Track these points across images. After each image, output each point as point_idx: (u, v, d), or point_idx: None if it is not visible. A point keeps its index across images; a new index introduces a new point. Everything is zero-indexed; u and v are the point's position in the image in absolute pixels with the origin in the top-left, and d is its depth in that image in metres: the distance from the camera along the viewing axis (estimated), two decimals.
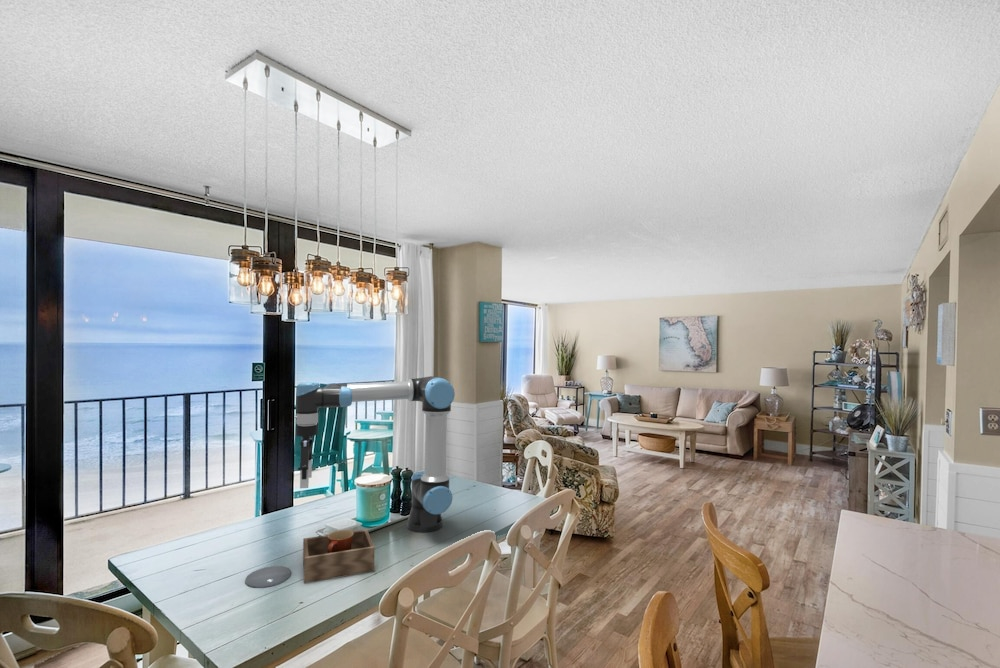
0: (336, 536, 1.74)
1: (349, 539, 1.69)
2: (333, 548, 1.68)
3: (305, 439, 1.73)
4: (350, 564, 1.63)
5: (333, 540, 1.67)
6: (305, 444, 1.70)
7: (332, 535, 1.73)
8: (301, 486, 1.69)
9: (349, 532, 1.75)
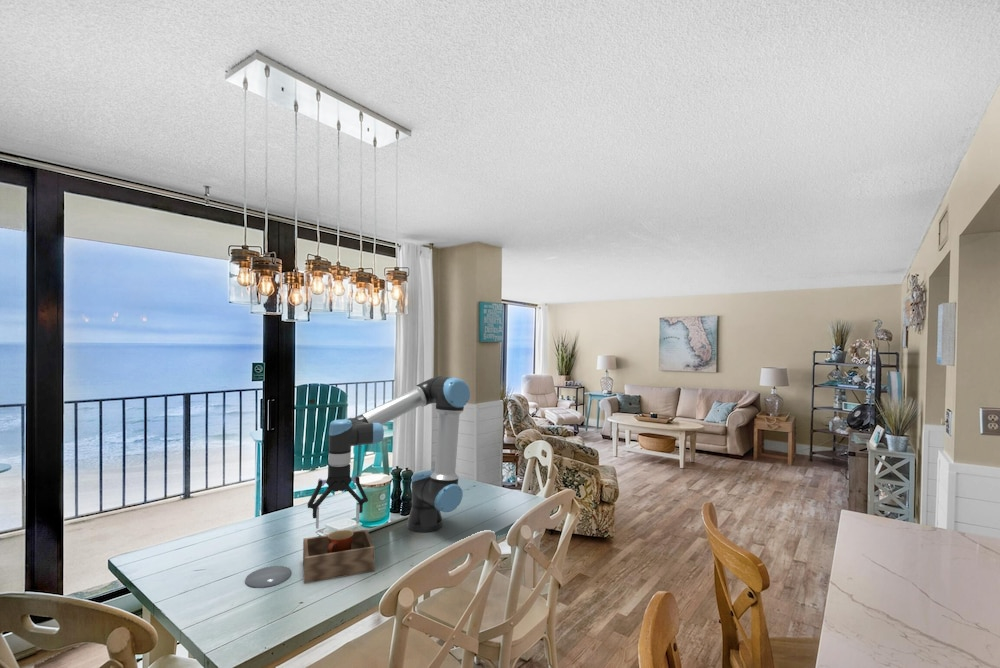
0: (336, 536, 1.74)
1: (349, 539, 1.69)
2: (333, 548, 1.68)
3: (327, 478, 1.69)
4: (350, 564, 1.63)
5: (333, 540, 1.67)
6: (318, 483, 1.67)
7: (332, 535, 1.73)
8: None
9: (349, 532, 1.75)
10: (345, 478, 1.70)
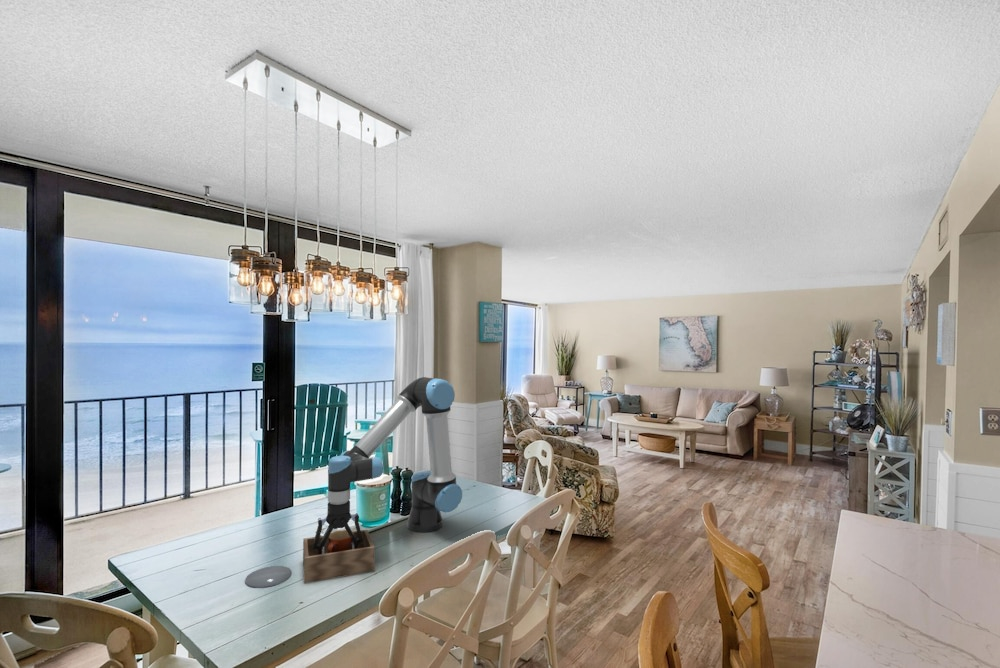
0: (336, 536, 1.74)
1: (349, 539, 1.69)
2: (333, 548, 1.68)
3: (327, 516, 1.68)
4: (350, 564, 1.63)
5: (333, 540, 1.67)
6: (318, 523, 1.67)
7: (332, 535, 1.73)
8: None
9: None
10: (345, 514, 1.70)
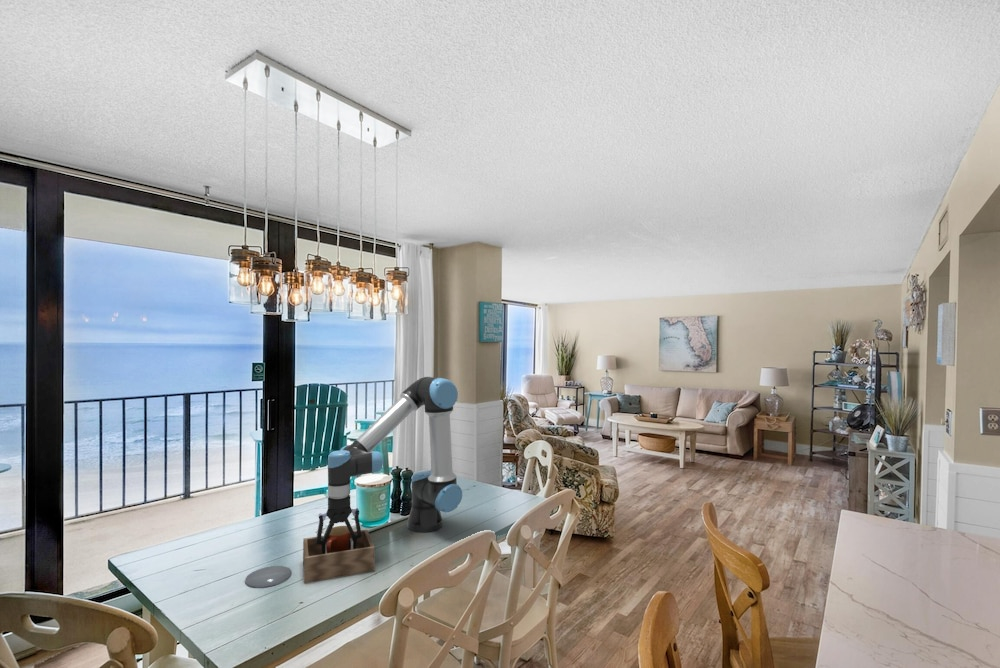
0: (334, 532, 1.74)
1: (348, 534, 1.69)
2: (332, 544, 1.68)
3: (327, 511, 1.69)
4: (350, 564, 1.63)
5: (332, 536, 1.67)
6: (319, 518, 1.67)
7: None
8: None
9: (347, 528, 1.75)
10: (346, 508, 1.70)
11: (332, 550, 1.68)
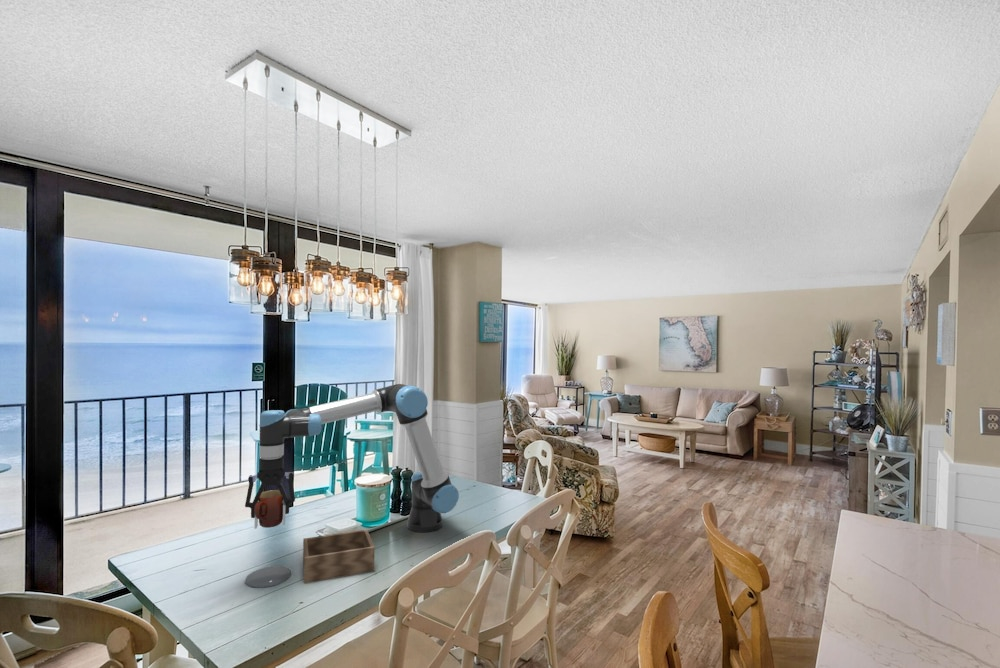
0: (267, 496, 1.65)
1: (279, 498, 1.61)
2: (262, 507, 1.59)
3: (258, 473, 1.60)
4: (350, 564, 1.63)
5: (262, 498, 1.58)
6: None
7: (262, 495, 1.64)
8: None
9: None
10: (278, 471, 1.61)
11: (262, 514, 1.59)
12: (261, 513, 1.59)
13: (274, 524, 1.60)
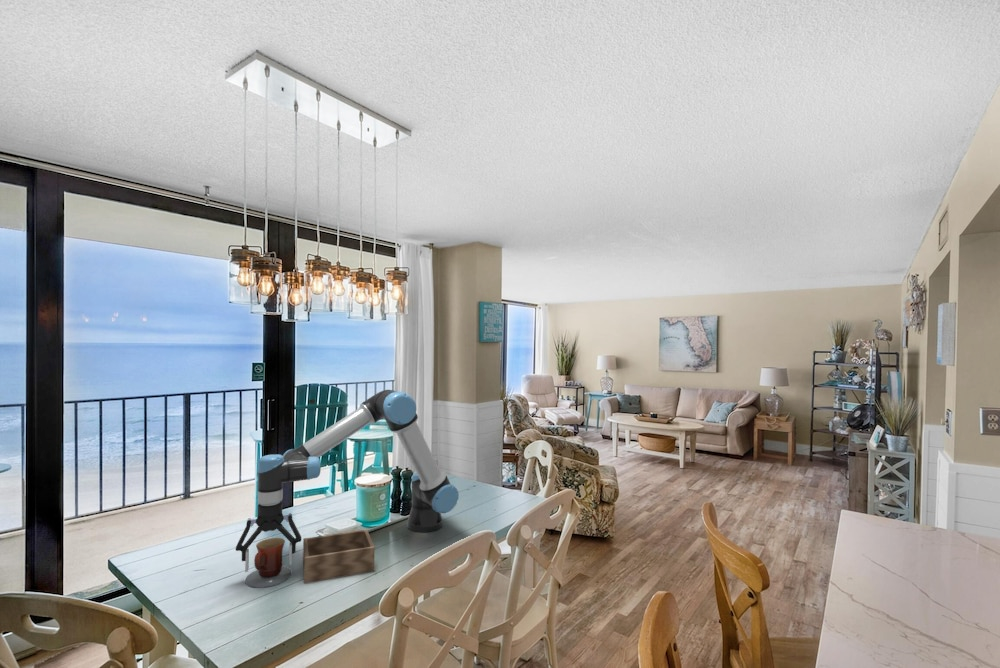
0: (266, 544, 1.65)
1: (279, 547, 1.61)
2: (261, 557, 1.59)
3: None
4: (350, 564, 1.63)
5: (261, 549, 1.58)
6: None
7: (261, 544, 1.63)
8: None
9: (280, 540, 1.66)
10: (276, 517, 1.61)
11: (262, 564, 1.59)
12: (261, 563, 1.59)
13: (274, 574, 1.60)
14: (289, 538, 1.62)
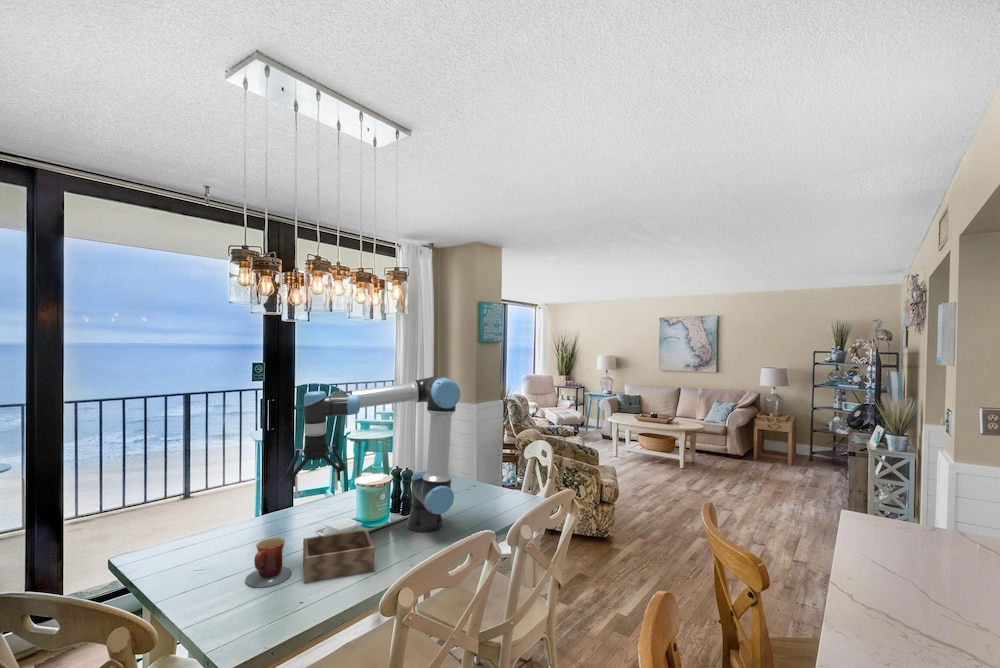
0: (266, 544, 1.65)
1: (279, 547, 1.61)
2: (261, 557, 1.59)
3: (304, 448, 1.75)
4: (350, 564, 1.63)
5: (261, 549, 1.58)
6: (295, 452, 1.73)
7: (261, 544, 1.63)
8: None
9: (280, 540, 1.66)
10: (322, 447, 1.76)
11: (262, 564, 1.59)
12: (261, 563, 1.59)
13: (274, 574, 1.60)
14: (334, 466, 1.78)
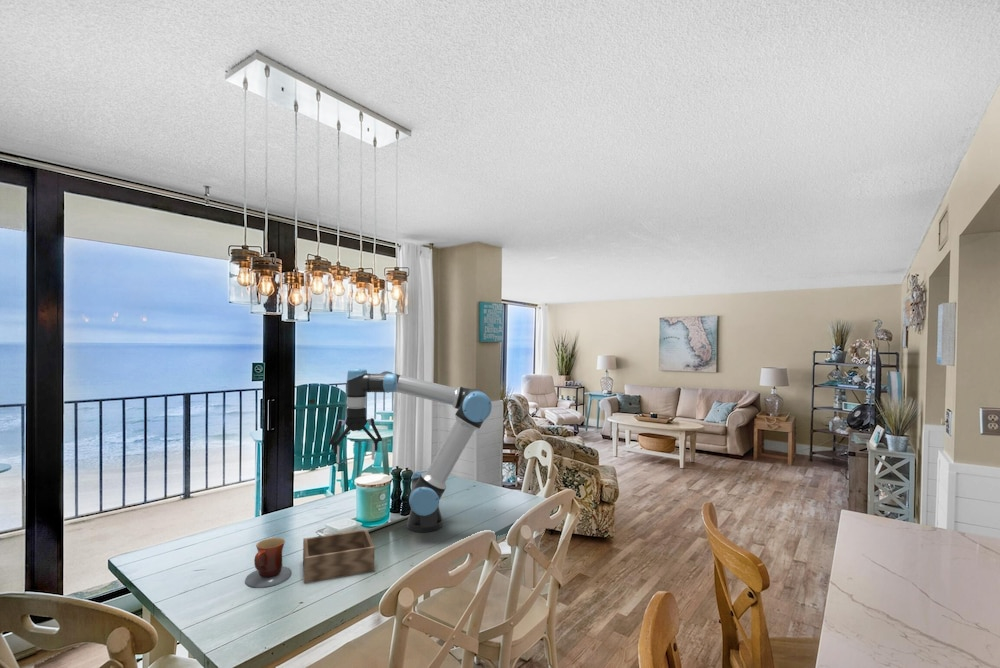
0: (266, 544, 1.65)
1: (279, 547, 1.61)
2: (261, 557, 1.59)
3: (346, 419, 1.91)
4: (350, 564, 1.63)
5: (261, 549, 1.58)
6: (338, 423, 1.89)
7: (261, 544, 1.63)
8: (336, 460, 1.90)
9: (280, 540, 1.66)
10: (362, 419, 1.92)
11: (262, 564, 1.59)
12: (261, 563, 1.59)
13: (274, 574, 1.60)
14: (372, 437, 1.93)
